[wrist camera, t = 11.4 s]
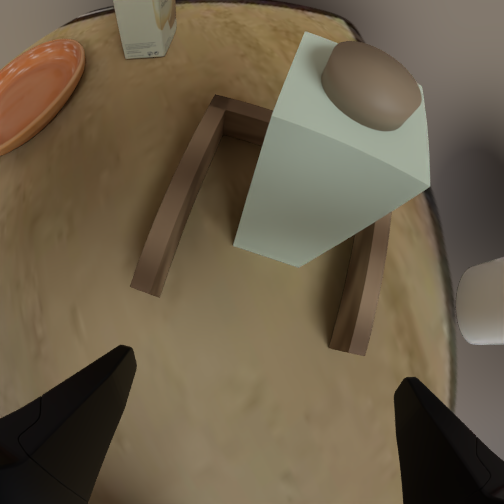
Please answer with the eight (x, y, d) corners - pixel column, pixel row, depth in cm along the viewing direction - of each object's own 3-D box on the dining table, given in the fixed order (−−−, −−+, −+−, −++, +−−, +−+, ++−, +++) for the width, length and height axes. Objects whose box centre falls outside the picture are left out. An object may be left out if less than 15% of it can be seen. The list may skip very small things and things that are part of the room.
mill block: (298, 267, 19) (453, 171, 6) (232, 245, 19) (280, 87, 5) (314, 207, 20) (435, 70, 7) (253, 185, 20) (313, 10, 6)
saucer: (54, 44, 22) (47, 29, 19) (120, 75, 21) (113, 54, 18) (-35, 134, 18) (-47, 122, 15) (1, 199, 17) (-18, 186, 14)
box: (343, 351, 18) (364, 356, 15) (142, 291, 17) (129, 286, 14) (376, 178, 22) (395, 161, 19) (214, 119, 21) (215, 94, 18)
